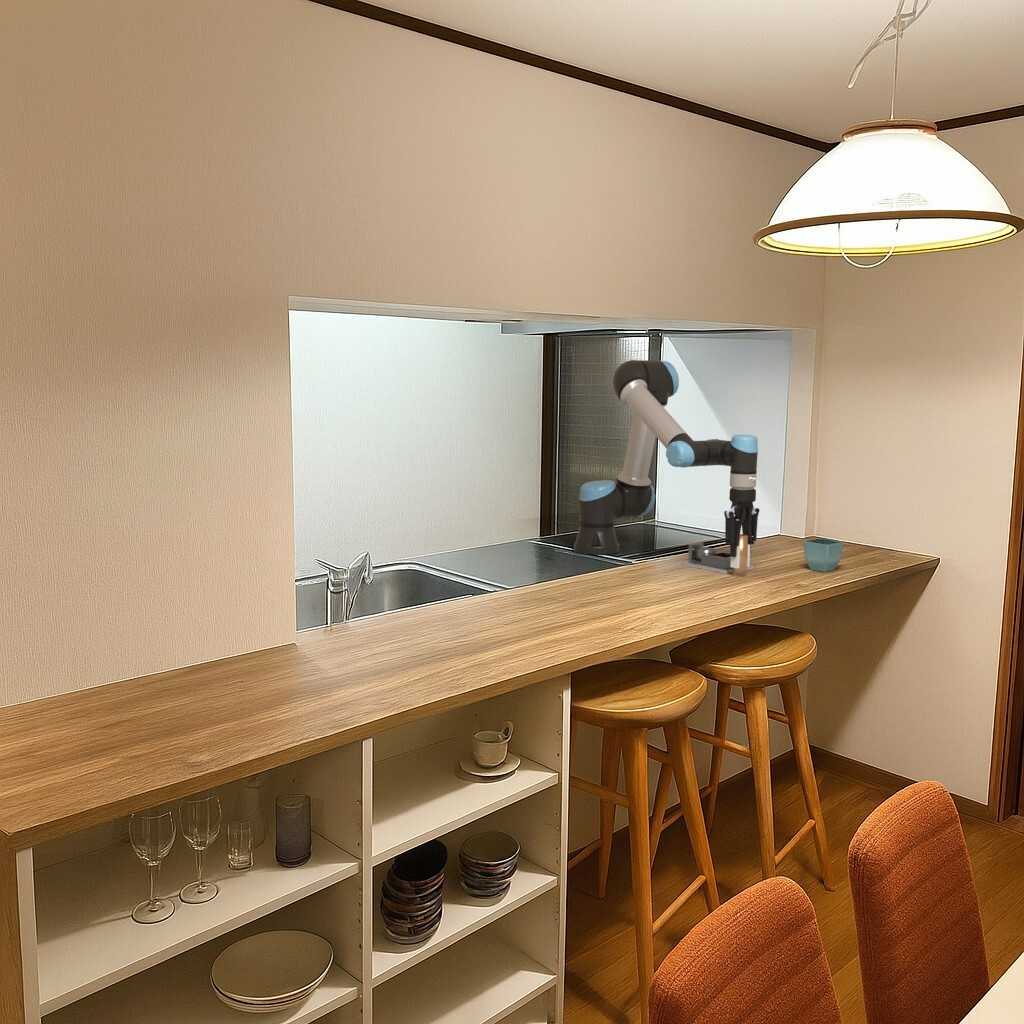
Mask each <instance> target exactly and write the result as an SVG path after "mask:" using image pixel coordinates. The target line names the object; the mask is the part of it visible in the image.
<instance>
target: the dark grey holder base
mask: <svg viewBox="0 0 1024 1024" xmlns="http://www.w3.org/2000/svg"><path fill="white" fill-rule="evenodd" d="M704 543H705V542H702V541H700V542H694V543H688V560H683V561H681V562H680V563H681V564H680V565H681V566H685V567H686V566H687V567H691V568H694V569H695V568H696V569H700V568H701V570H706V571H711V572H717V573H719V574H720V573H721V574H724V575H725V574H726V575H729V574H733V567H730V564H731V556H730V551H723V550H721V551H716V549H715V548H714V547H713V548H712V547H708V546H707V547H706V546H704V545H705V544H704ZM754 569H755V565H753V564H750V566H748V567H747V571H750V570H754Z"/></svg>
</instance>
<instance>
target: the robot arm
mask: <svg viewBox="0 0 1024 1024" xmlns="http://www.w3.org/2000/svg"><path fill="white" fill-rule="evenodd" d="M611 381H612V388H613V392H614V393H615V396H616V397H617V398H618V399H619V401H620V402H621V403H622V404H623V405H625V406H629V407H630V408H631V410H632V411H633V415H632V420H631V428H630V431H629V437H628V442H627V448H626V453H625V458H624V463H623V467H622V468H623V469H622V472H620V473H618V474H617V476H616V481H614V480H609V479H602V480H591V481H588V482H585V483H583V484H582V485H581V486H580V490H579V496H578V497H579V498H578V499H579V521H578V522H579V523H578V524H579V527H578V530H577V531H578V532H577V534H576V539H575V541H574V543H573V551H574V552H575V553H579V554H585V555H594V556H595V555H613V554H617V553H620V544H619V542H618V538H617V533H616V531H615V519H623V518H624V519H626V518H627V519H628V518H638V517H641V516H646V515H648V514H649V513H650V512H651V511H652V509H653V507H655V506H654V505H655V502H656V493H655V488H654V486H653V485H652V480H651V479H650V478H649V471H650V467H651V462H652V457H653V454H654V453H653V452H654V449H655V447H654V446H655V443H656V438H657V439H658V441H659V442H660V443H661V444H662V445H663V447H665V448H664V449H666V451H665V456H666V459H667V462H668V464H669V465H670V466H672V467H674V468H688V467H689V468H691V467H692V468H694V467H708V466H725V467H730V471H729V473H730V474H729V487H730V489H729V501H730V502H731V506H730V509H729V510H725V511H724V512H723V513H724V519H725V521H724V522H725V524H724V525H725V526H724V527H725V528H724V529H725V530H724V535H725V537H724V538H725V541H724V542H725V544H727V545H728V546H730V550H729V553H730V556H731V564H730V567H733V568H739V564H740V546H738V543H739V537H740V534H741V532H742V534H746V535H748V552H747V567H748V566H750V565H751V563H750V562H751V553H752V549H751V548H752V545H755V542H756V541H757V537H758V536H757V534H758V532H757V531H758V521H759V520H758V517H759V514H760V508H758V507H754V504H753V503H754V502H756V500H757V499H756V498H757V490H756V487H757V474H758V473H757V470H758V456H759V455H758V453H759V444H758V443H759V442H758V437H757V436H756V435H752V434H733V435H732V436H731V440H726V439H725V440H724V439H719V438H711V439H706V440H694V439H693V438H692V437H691V436H690V435H689V434H688V433H687V432H686V430H685V429H684V428H683V427H682V426H681V425H680V424H679V422H677V420H676V419H675V418H673V416H672V415H671V414H670V413H669V412H668V411H667V409H666V408H665V407H666V406H667V405H668V400H669V398H670V397H673V396H674V395H675V394H676V393H677V391H678V389H679V387H680V386H679V385H680V378H679V374H678V372H677V369H676V368H675V366H674V365H673V364H672V363H671V362H669V361H666V360H660V359H659V360H658V359H653V360H646V359H644V360H638V359H631V360H627V361H624V362H622V363H620V365H619V366H618V367H617V368H616V369H615V371H614V373H613V376H612V379H611ZM734 541H735V542H734Z"/></svg>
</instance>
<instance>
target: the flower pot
mask: <svg viewBox="0 0 1024 1024" xmlns="http://www.w3.org/2000/svg"><path fill="white" fill-rule="evenodd" d="M844 545H845V543H844V541H840V540H835V539H834V540H833V539H828V538H820V537H817V538H814V539H809V540H803V551H804V552H803V553H804V558H805V561H806V564H807V566H808V567H809V568H810V570H812V571H817V572H822V573H826V572H827V573H828V572H832V571H834V570H835V569H836V568H837V567H838V565H839V563H840V562H841V559H842V554H843V549H844Z"/></svg>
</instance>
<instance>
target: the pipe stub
mask: <svg viewBox="0 0 1024 1024" xmlns="http://www.w3.org/2000/svg"><path fill="white" fill-rule="evenodd" d="M734 542H735V541H734ZM738 546H740V564H739V568H733V573H732V576H734V577H742V578H743V577H747V575H748V574H747V573H748V570H747V552H748V535H746V534H743V533H740V537H739V543H738Z"/></svg>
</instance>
